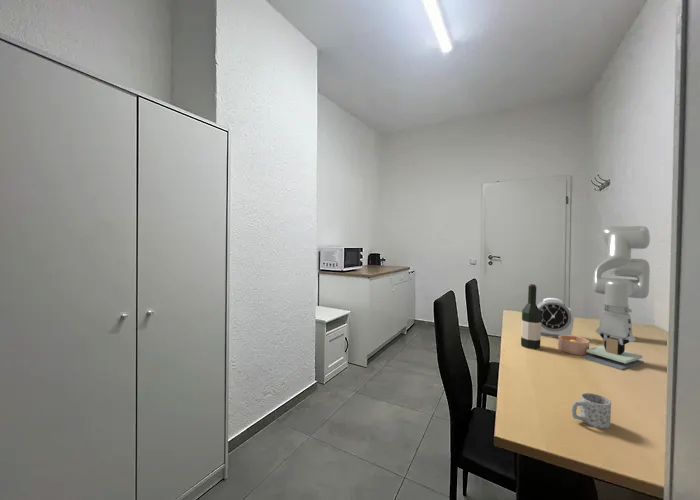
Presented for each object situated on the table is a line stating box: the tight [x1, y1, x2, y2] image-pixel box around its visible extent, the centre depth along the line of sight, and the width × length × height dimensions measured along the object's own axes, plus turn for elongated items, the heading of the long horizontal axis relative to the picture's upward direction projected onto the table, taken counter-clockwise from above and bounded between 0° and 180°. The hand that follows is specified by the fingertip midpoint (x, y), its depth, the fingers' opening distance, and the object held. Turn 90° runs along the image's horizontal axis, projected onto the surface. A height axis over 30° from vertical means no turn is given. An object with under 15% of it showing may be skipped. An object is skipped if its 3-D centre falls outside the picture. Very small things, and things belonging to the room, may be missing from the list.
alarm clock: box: [536, 297, 575, 339], centre depth 166 cm, size 18×8×20 cm, turn 62°
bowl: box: [557, 334, 590, 356], centre depth 144 cm, size 12×12×6 cm
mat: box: [582, 353, 645, 371], centre depth 133 cm, size 18×14×1 cm
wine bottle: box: [520, 283, 542, 350], centre depth 149 cm, size 8×8×30 cm
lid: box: [586, 337, 643, 363], centre depth 133 cm, size 14×14×7 cm
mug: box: [571, 392, 612, 430], centre depth 87 cm, size 10×7×7 cm, turn 92°
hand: (614, 351), depth 133 cm, fingers closed on lid, 3 cm apart
